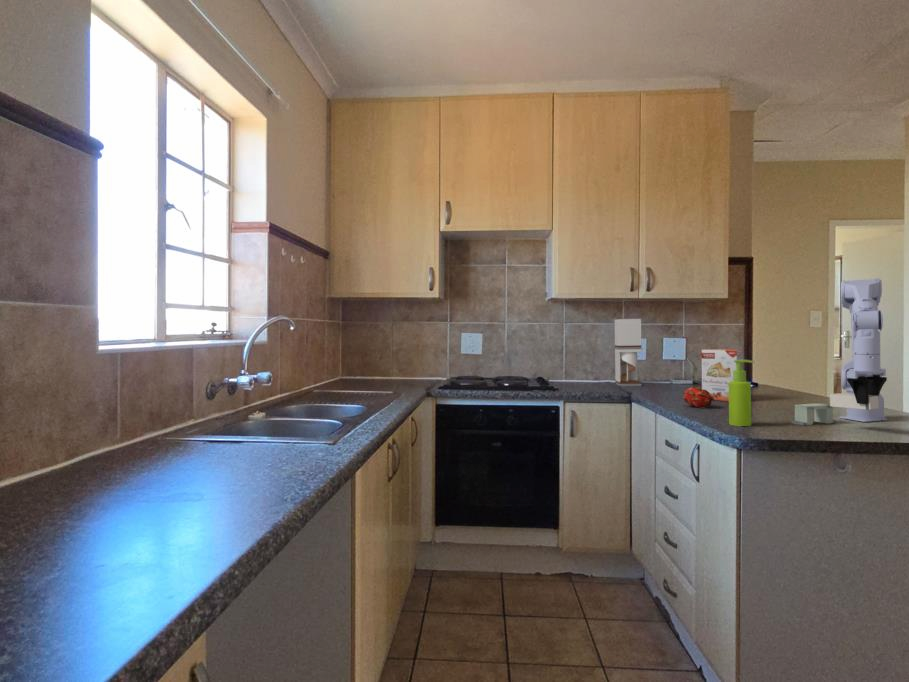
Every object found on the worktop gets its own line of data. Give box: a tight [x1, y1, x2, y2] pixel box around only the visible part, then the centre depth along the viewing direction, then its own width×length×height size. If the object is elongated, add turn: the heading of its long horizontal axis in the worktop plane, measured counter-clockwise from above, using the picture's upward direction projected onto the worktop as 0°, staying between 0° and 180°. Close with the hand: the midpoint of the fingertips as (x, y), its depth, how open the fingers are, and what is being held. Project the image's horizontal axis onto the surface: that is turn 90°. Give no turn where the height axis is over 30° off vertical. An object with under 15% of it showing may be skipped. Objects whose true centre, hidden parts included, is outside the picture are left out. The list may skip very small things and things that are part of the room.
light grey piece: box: [614, 318, 643, 387], centre depth 263 cm, size 11×11×35 cm
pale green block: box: [790, 402, 837, 427], centre depth 152 cm, size 13×4×6 cm, turn 105°
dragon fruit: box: [682, 385, 715, 409], centre depth 187 cm, size 8×8×12 cm
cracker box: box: [701, 348, 744, 402], centre depth 203 cm, size 14×6×21 cm, turn 38°
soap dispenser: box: [728, 359, 755, 427], centre depth 152 cm, size 6×7×20 cm
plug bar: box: [829, 393, 879, 410], centre depth 140 cm, size 4×10×4 cm, turn 24°
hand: (866, 403), depth 137 cm, fingers closed on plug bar, 4 cm apart
